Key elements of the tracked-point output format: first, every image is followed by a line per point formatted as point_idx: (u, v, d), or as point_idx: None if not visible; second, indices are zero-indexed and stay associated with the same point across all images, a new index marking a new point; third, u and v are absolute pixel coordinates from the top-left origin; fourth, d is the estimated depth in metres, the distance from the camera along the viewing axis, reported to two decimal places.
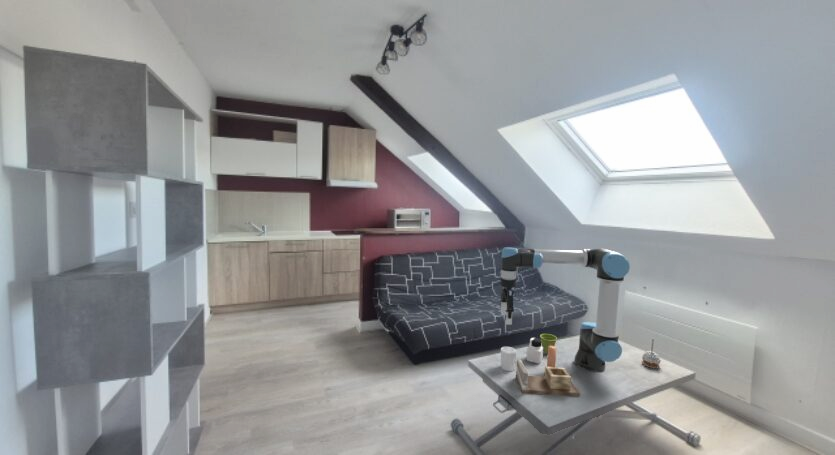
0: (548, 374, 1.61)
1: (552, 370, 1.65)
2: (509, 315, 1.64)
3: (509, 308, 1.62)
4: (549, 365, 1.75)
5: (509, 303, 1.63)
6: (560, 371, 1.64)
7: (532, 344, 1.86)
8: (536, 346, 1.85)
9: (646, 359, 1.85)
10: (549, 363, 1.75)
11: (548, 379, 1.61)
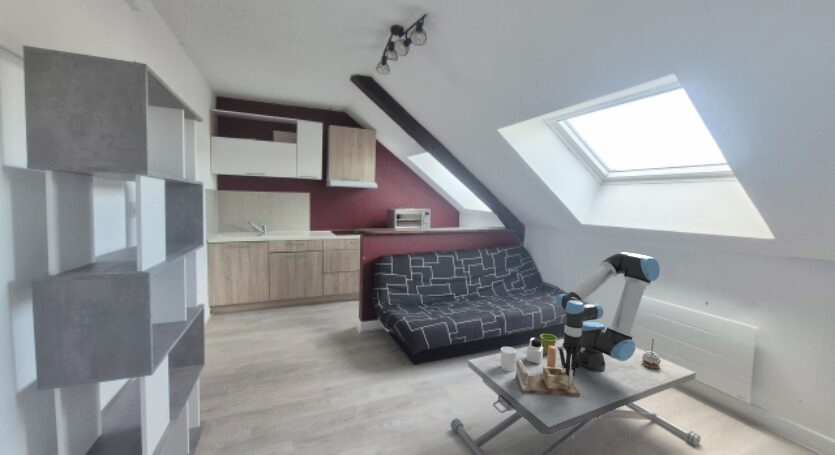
0: (546, 374, 1.61)
1: (550, 370, 1.65)
2: (565, 371, 1.61)
3: (561, 363, 1.61)
4: (549, 365, 1.75)
5: (561, 359, 1.61)
6: (558, 371, 1.64)
7: (532, 344, 1.86)
8: (536, 346, 1.85)
9: (646, 359, 1.85)
10: (549, 363, 1.75)
11: (545, 379, 1.61)
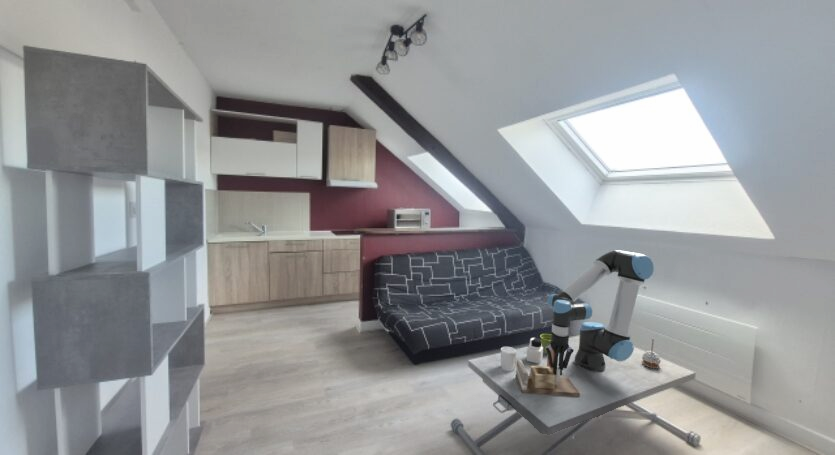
0: (533, 373, 1.62)
1: (537, 369, 1.65)
2: (553, 370, 1.62)
3: (549, 362, 1.62)
4: (549, 365, 1.75)
5: (548, 358, 1.62)
6: (545, 370, 1.65)
7: (532, 344, 1.86)
8: (536, 346, 1.85)
9: (646, 359, 1.85)
10: None
11: (533, 378, 1.62)
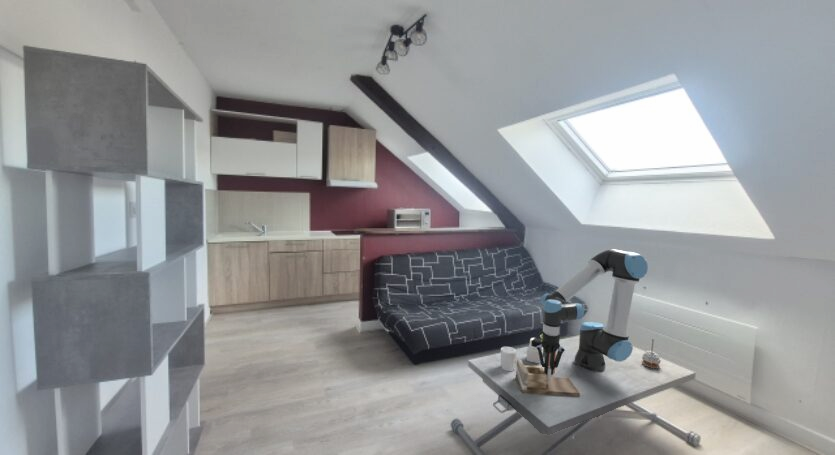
0: None
1: (529, 369, 1.65)
2: (544, 370, 1.62)
3: (540, 362, 1.62)
4: (549, 365, 1.75)
5: (539, 357, 1.62)
6: (537, 370, 1.65)
7: (532, 344, 1.86)
8: None
9: (646, 359, 1.85)
10: (549, 363, 1.75)
11: None
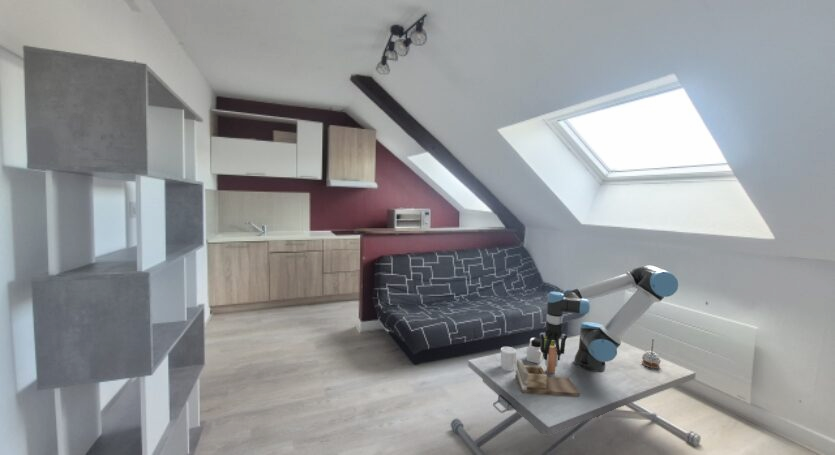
0: None
1: (529, 369, 1.65)
2: (544, 356, 1.77)
3: (540, 348, 1.77)
4: (550, 365, 1.75)
5: (540, 344, 1.76)
6: (537, 370, 1.65)
7: (532, 344, 1.86)
8: (536, 346, 1.85)
9: (646, 359, 1.85)
10: (549, 363, 1.75)
11: None
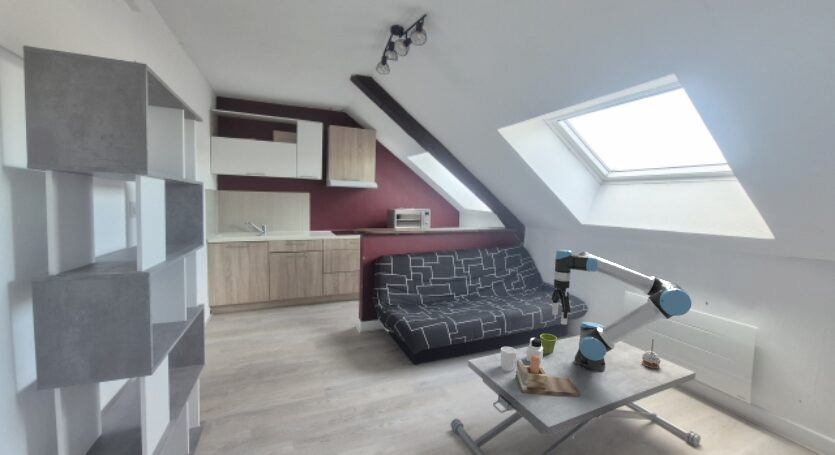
0: None
1: (529, 369, 1.65)
2: (565, 315, 1.69)
3: (565, 308, 1.68)
4: None
5: (565, 304, 1.69)
6: None
7: (532, 344, 1.86)
8: (536, 346, 1.85)
9: (646, 359, 1.85)
10: None
11: None
